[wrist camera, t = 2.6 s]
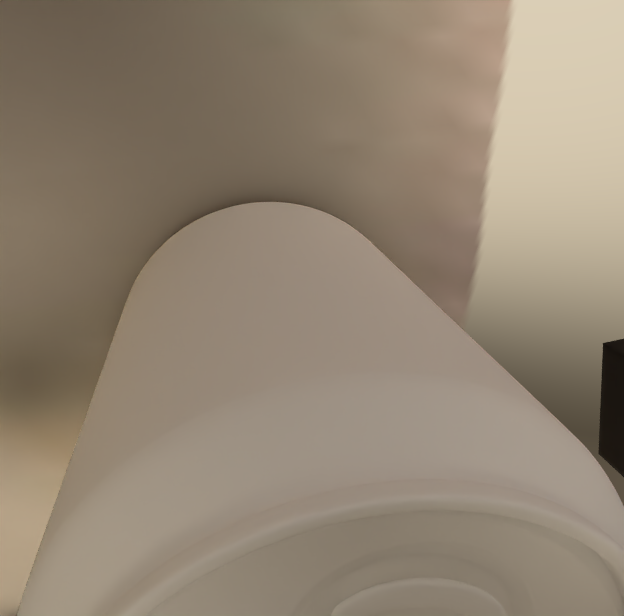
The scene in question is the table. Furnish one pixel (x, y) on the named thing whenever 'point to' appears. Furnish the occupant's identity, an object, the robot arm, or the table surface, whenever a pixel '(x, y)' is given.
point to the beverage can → (316, 449)
